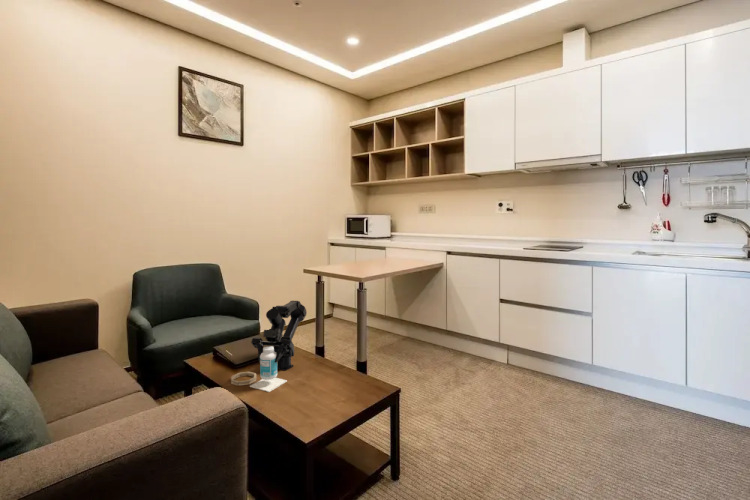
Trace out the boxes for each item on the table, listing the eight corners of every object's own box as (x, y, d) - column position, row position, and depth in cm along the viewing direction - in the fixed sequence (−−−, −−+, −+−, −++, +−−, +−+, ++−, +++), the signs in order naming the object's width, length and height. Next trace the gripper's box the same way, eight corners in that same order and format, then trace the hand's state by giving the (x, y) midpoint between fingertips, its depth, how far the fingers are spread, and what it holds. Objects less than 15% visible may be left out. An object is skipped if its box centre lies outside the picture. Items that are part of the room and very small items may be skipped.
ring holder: (244, 373, 178) (244, 370, 178) (261, 377, 174) (261, 374, 173) (225, 382, 168) (225, 378, 168) (243, 387, 164) (243, 383, 164)
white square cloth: (268, 376, 175) (268, 375, 175) (287, 381, 170) (287, 380, 170) (249, 386, 164) (249, 385, 164) (269, 392, 159) (268, 391, 159)
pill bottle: (274, 372, 172) (274, 343, 171) (279, 378, 166) (279, 349, 165) (258, 375, 168) (258, 346, 167) (262, 382, 162) (262, 352, 161)
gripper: (252, 320, 170) (240, 352, 160) (291, 322, 167) (282, 355, 158) (260, 331, 178) (249, 363, 169) (297, 333, 176) (289, 365, 166)
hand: (267, 361), depth 165 cm, fingers closed on pill bottle, 7 cm apart
